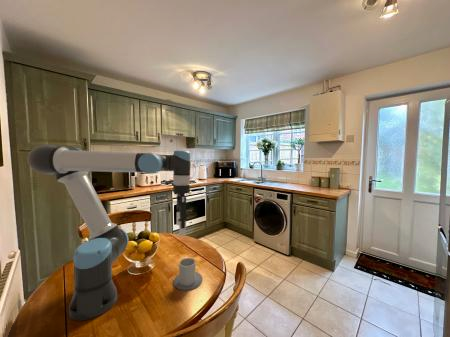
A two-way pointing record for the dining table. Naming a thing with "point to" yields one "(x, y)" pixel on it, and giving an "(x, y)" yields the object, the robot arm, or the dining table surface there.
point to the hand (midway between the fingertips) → (180, 229)
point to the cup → (187, 271)
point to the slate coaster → (197, 282)
